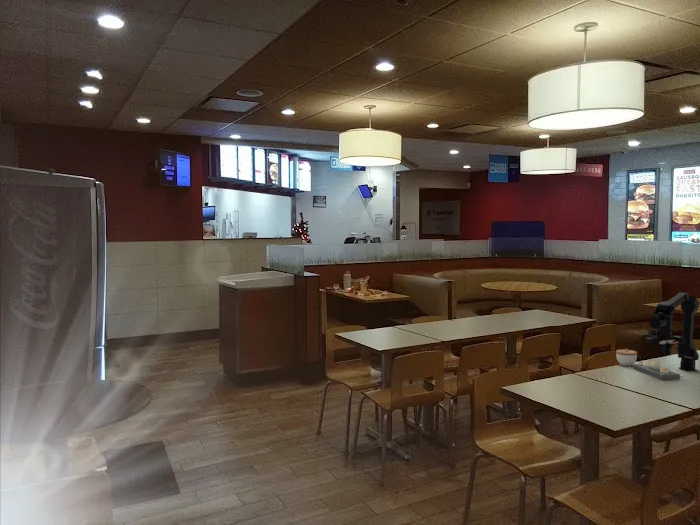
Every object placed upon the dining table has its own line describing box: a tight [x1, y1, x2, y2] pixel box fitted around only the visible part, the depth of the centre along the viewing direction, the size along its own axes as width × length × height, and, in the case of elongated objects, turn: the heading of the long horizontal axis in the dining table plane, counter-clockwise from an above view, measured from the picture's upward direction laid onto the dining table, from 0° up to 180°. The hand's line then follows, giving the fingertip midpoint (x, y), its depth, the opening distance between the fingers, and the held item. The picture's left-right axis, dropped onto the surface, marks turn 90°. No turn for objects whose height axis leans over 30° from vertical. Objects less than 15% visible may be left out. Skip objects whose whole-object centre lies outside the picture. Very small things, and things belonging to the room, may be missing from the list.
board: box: [632, 363, 681, 381], centre depth 298 cm, size 10×24×2 cm, turn 7°
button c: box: [660, 367, 670, 374], centre depth 291 cm, size 4×4×4 cm
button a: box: [642, 361, 652, 367], centre depth 305 cm, size 4×4×4 cm
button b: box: [650, 361, 661, 370], centre depth 298 cm, size 4×4×4 cm
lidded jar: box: [615, 347, 638, 367], centre depth 318 cm, size 11×11×9 cm
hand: (664, 356), depth 292 cm, fingers closed
